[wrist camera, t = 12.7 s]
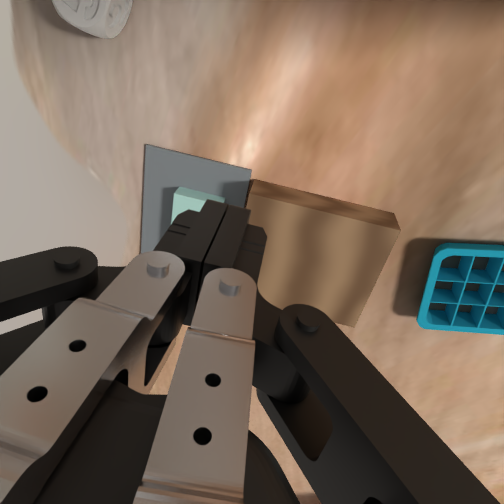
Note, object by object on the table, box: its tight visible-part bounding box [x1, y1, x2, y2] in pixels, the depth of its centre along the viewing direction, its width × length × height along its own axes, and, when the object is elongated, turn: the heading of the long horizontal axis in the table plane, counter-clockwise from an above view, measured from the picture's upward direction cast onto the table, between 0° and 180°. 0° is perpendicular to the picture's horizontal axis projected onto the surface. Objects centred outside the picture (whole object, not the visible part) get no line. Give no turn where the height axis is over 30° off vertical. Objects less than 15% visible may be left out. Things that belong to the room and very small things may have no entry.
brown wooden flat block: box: [246, 179, 401, 327], centre depth 45 cm, size 16×14×4 cm
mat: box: [141, 144, 252, 253], centre depth 46 cm, size 12×16×1 cm
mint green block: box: [171, 187, 225, 225], centre depth 45 cm, size 6×8×2 cm
